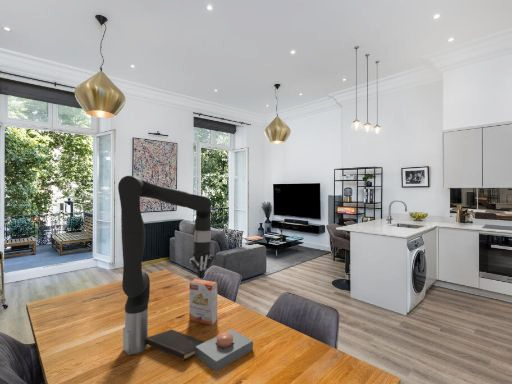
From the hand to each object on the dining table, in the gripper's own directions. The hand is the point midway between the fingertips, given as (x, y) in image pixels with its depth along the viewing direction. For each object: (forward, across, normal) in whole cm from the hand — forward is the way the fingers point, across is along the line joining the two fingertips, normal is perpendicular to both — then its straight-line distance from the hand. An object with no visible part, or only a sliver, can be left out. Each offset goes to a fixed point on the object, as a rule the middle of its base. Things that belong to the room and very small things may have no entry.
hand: (201, 277), depth 124 cm
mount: (+29, +3, -15) cm, 33 cm away
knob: (+29, +3, -15) cm, 33 cm away
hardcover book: (+29, -10, +3) cm, 31 cm away
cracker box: (+30, +13, +16) cm, 36 cm away
